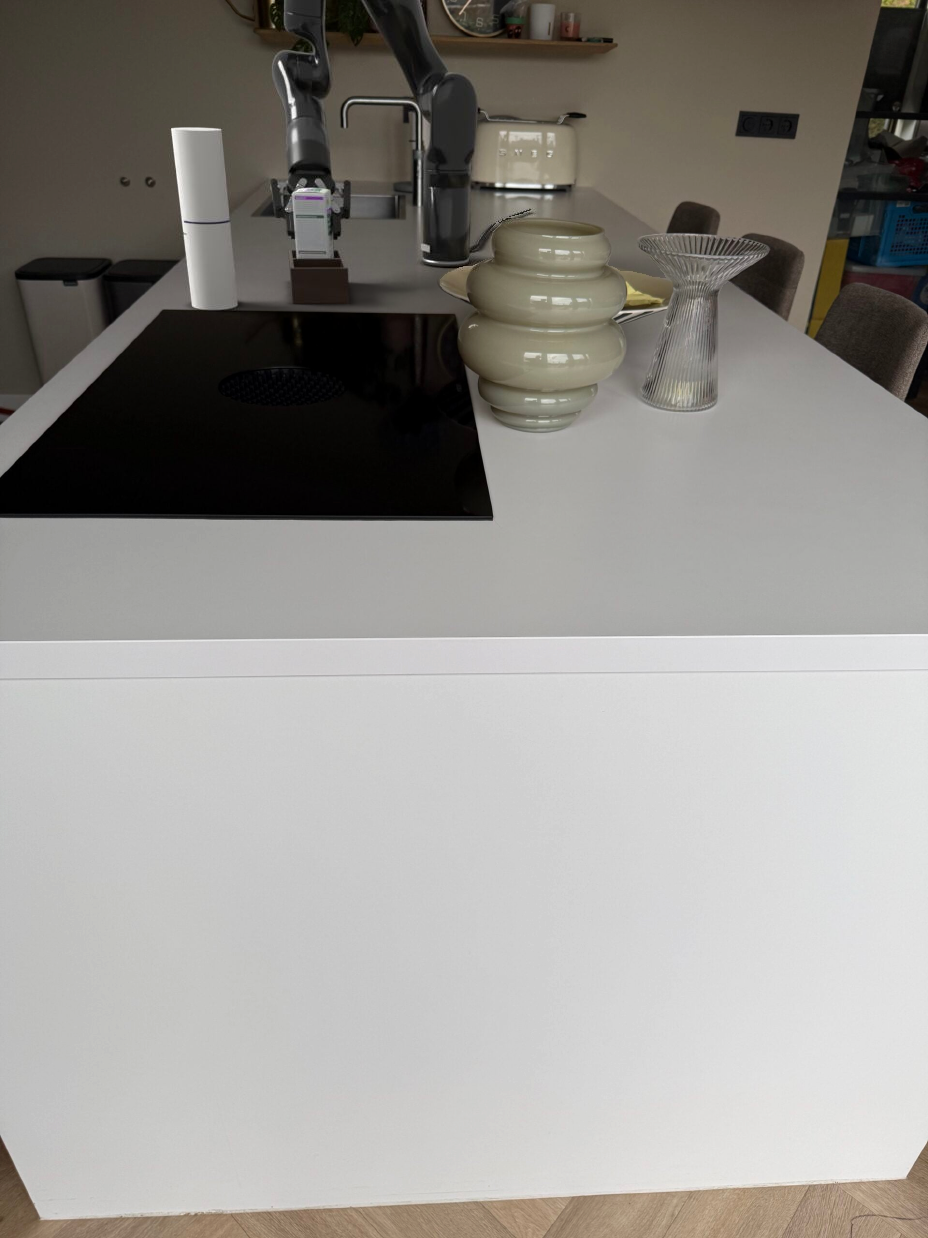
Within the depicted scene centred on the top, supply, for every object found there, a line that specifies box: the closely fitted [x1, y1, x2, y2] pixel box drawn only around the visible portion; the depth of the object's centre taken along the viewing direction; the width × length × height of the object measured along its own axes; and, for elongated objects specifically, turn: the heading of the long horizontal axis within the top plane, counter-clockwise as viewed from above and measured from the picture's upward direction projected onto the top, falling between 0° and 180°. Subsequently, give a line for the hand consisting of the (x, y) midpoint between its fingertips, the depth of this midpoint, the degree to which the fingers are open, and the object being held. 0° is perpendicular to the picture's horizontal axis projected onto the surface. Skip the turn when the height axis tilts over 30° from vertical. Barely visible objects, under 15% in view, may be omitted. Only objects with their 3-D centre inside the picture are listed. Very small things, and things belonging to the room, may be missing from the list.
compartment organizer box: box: [288, 249, 350, 305], centre depth 156 cm, size 18×9×6 cm, turn 10°
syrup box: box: [292, 188, 335, 258], centre depth 157 cm, size 6×6×14 cm
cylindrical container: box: [170, 127, 239, 311], centre depth 141 cm, size 7×7×25 cm
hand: (314, 236), depth 156 cm, fingers closed on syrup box, 6 cm apart
